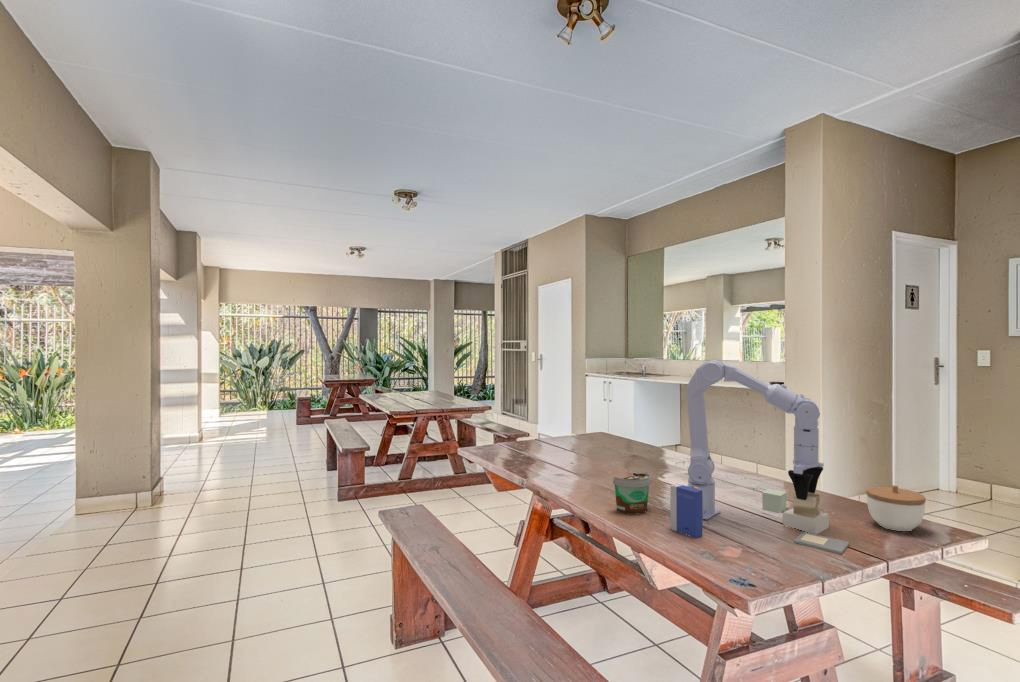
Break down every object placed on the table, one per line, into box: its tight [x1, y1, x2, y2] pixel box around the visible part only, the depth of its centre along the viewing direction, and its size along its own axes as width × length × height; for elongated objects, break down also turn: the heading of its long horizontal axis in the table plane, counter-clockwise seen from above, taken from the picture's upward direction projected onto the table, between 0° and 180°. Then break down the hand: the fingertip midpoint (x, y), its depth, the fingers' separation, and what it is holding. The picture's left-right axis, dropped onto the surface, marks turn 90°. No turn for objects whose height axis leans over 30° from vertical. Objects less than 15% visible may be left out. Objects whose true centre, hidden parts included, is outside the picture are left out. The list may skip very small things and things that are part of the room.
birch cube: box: [792, 492, 821, 518], centre depth 139 cm, size 5×5×5 cm
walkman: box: [669, 483, 703, 539], centre depth 135 cm, size 8×3×12 cm, turn 35°
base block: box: [782, 507, 830, 535], centre depth 139 cm, size 8×8×4 cm
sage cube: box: [761, 488, 787, 513], centre depth 153 cm, size 5×5×5 cm
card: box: [793, 531, 850, 555], centre depth 127 cm, size 8×10×1 cm
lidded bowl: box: [865, 484, 926, 532], centre depth 138 cm, size 13×13×11 cm
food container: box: [612, 472, 653, 515], centre depth 152 cm, size 12×6×10 cm, turn 114°
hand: (805, 496), depth 139 cm, fingers open, 7 cm apart
